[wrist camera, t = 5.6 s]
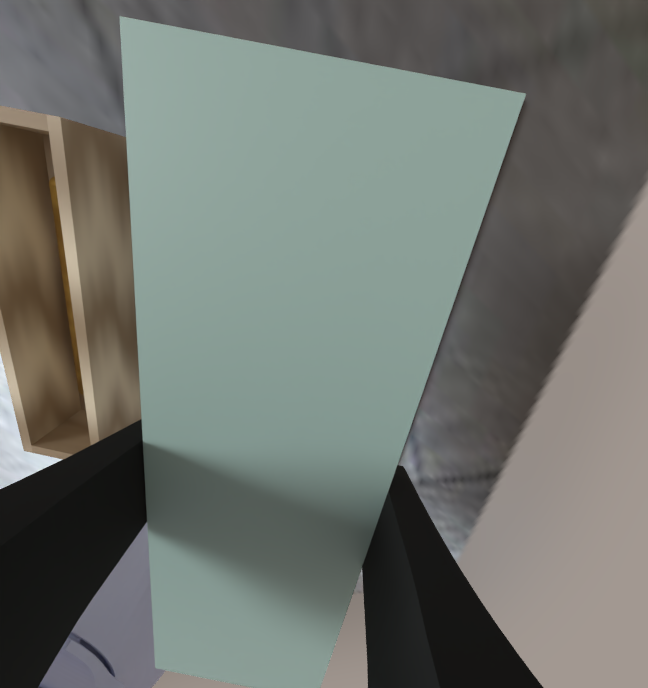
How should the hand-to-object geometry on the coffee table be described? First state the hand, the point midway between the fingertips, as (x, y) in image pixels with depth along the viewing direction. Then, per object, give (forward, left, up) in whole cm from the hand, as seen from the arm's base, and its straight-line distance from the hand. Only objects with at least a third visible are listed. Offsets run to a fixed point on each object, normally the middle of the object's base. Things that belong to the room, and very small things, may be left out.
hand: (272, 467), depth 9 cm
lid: (0, 0, 0) cm, 0 cm away
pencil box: (+6, +10, -10) cm, 15 cm away
